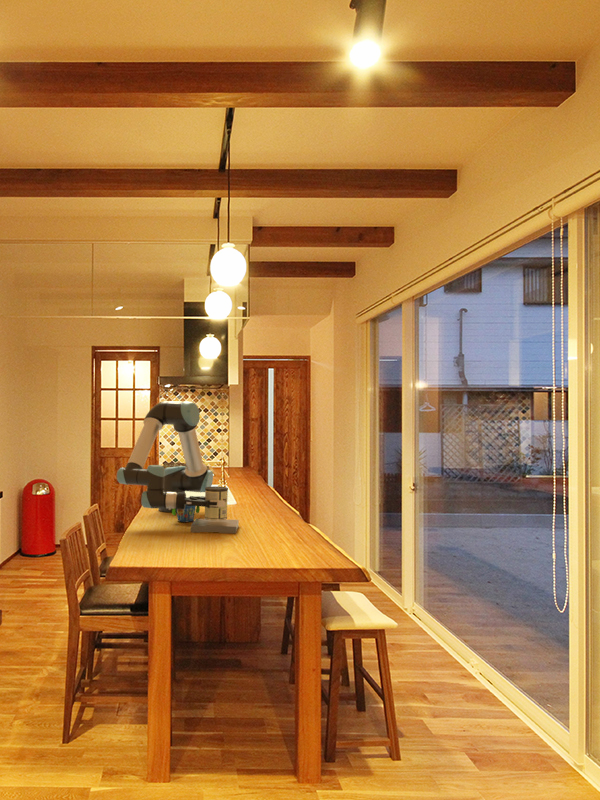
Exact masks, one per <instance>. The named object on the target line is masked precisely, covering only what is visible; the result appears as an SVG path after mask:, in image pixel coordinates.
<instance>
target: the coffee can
mask: <svg viewBox="0 0 600 800" xmlns="http://www.w3.org/2000/svg"><path fill="white" fill-rule="evenodd" d="M228 490H229V487H227V486H211V487H206V488H205V492H204V493H205V495H204V496H205V500H209V501H210V500H224V501H225V507H214V506H210V508H207V507H204V519H206V520H228V516H227V515H228Z"/></svg>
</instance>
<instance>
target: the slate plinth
mask: <svg viewBox="0 0 600 800" xmlns="http://www.w3.org/2000/svg"><path fill="white" fill-rule="evenodd" d="M239 520H240V519H226V520H206V519H205V518H194V520H193V521H192V523H191V524H190V533H200V532H219V533H218V534H237V532H238V529H239V523H240V522H239Z"/></svg>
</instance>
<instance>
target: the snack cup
mask: <svg viewBox="0 0 600 800" xmlns="http://www.w3.org/2000/svg"><path fill="white" fill-rule="evenodd" d="M200 507H201V506H185V509H177V512H176V508H175V509H172V512H171V515H172V516H174V517H175V516H177V517H176V518H177V520H178V522H181V523H189V522H194V520H195V515H196V513H197V514H199V513H200V510H201V509H200Z"/></svg>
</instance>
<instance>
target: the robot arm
mask: <svg viewBox="0 0 600 800" xmlns="http://www.w3.org/2000/svg"><path fill="white" fill-rule="evenodd" d="M200 414H201V413H200V410H199V406H198V405H197V404H196V403H195V402H193V401H188V400H184V401H179V400H178V401H174V400H173V401H172V400H163V401H161V402H158V403H157V404H155V405H154V406H153V407H152V408H151V409H150V410H149V411H148V412H147V414H146V415H145V417H144V420H143V427H142V429H141V432H140V434H139V436H138V438H137V440H136V442H135V445H134V447H133V450H132V452H131V455H130V457H129V459H128V461H127V463H126V465H125V467H120V468H118V470H117V472H116V480H117V482H118V483H119V484H122V485H131V486H132V485H133V486H144V487H146V491H145V490H144V491H143V492H142V493H141V500H140V501H141V503H140V504H141V506H142V508H146V509H158V511H160V512H164V513H172V509H175V508H176V513H177V509H185V506H196V507H197V506H199V507H204V508H205V507H207V508H210V506H214V507H225V501H224V500H210V501H209V500H205V495H204V496H203V495H202V496H201V495H200V496H198V495H197V496H192V495H189V497H187V494H186V492H190V493H191V492H193V493H205V488H206V487H212V486H213V485H212V484H213V482H214V481H213V480H214V473H213V471H212V470H210V469H208V467H207V465H206V464H205V463H203V457H202V454H201V452H202V451H201V449H200V443H199V440H198V436H197V432H196V428H197V426H198V424H199V423H200V418H201V417H200ZM165 425H171V426H173V429H174V431H175V432H177V433H178V437H179V438H178V439H179V441H180V445H181V449H182V453H183V454H182V455H183V457H184V462H185V465H182V466H181V465H179V466H178V465H177V466H170V467H166V468H165V467H164V466H163V465H161V464H150V465H148V466H147V468H144V466H145V464H146V461H147V459H148V457H149V455H150V452H151V450H152V447H153V446H154V443H155V440H156V438H157V436H158V434H159V431H162V429H163V427H164V426H165Z"/></svg>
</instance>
